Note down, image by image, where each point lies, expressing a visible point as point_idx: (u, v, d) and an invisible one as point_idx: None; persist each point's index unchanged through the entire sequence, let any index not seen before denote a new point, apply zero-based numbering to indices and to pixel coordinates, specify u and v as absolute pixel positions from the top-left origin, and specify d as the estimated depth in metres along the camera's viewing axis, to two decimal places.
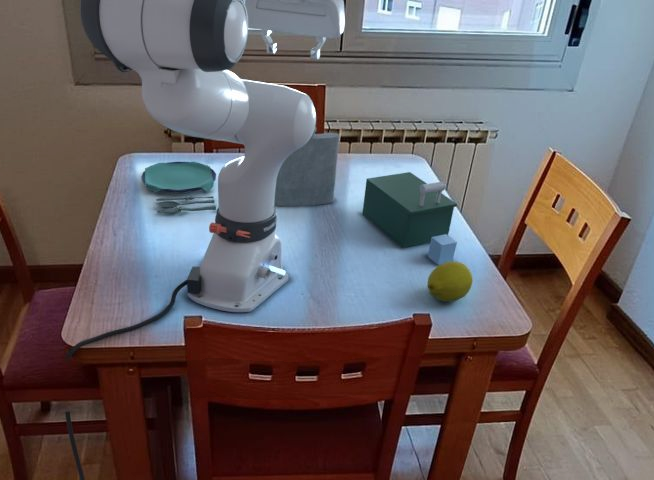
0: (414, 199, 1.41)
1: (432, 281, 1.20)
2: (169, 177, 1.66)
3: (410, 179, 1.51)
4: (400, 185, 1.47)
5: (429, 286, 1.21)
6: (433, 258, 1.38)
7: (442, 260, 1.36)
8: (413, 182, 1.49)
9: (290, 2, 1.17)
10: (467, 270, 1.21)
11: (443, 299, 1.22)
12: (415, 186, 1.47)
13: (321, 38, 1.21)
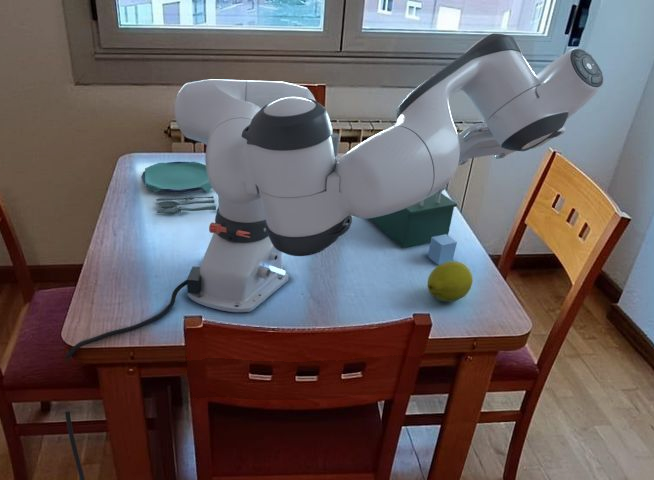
0: None
1: (432, 281, 1.20)
2: (169, 177, 1.66)
3: None
4: None
5: (429, 286, 1.21)
6: (433, 258, 1.38)
7: (442, 260, 1.36)
8: None
9: None
10: (467, 270, 1.21)
11: (443, 299, 1.22)
12: None
13: None
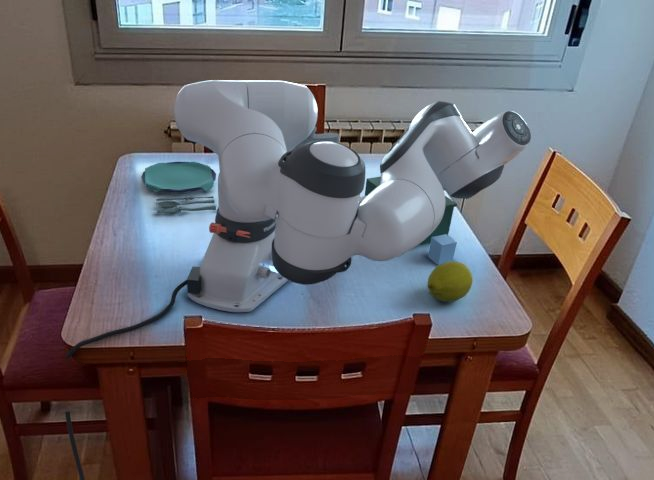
0: None
1: (432, 281, 1.20)
2: (169, 177, 1.66)
3: None
4: None
5: (429, 286, 1.21)
6: (433, 258, 1.38)
7: (442, 260, 1.36)
8: None
9: None
10: (467, 270, 1.21)
11: (443, 299, 1.22)
12: None
13: None
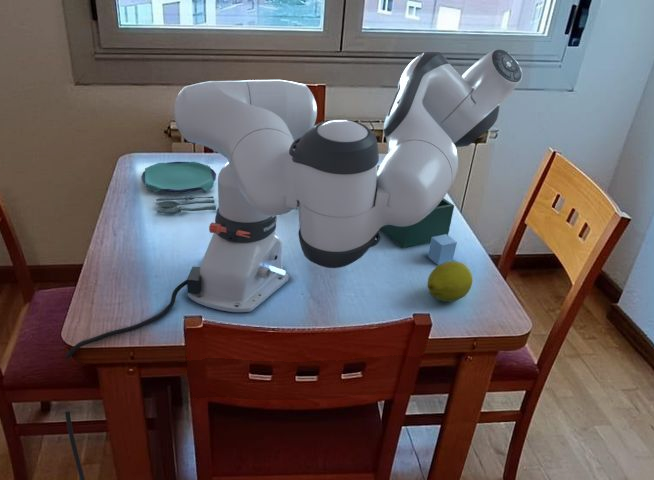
0: None
1: (432, 281, 1.20)
2: (169, 177, 1.66)
3: None
4: None
5: (429, 286, 1.21)
6: (433, 258, 1.38)
7: (442, 260, 1.36)
8: None
9: None
10: (467, 270, 1.21)
11: (443, 299, 1.22)
12: None
13: None
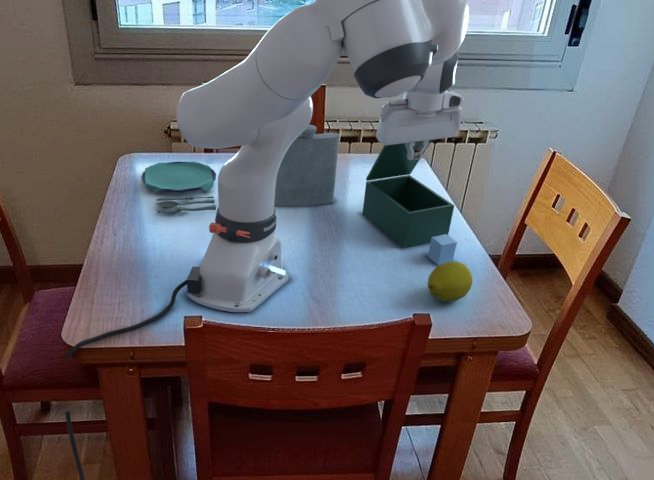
0: None
1: (432, 281, 1.20)
2: (169, 177, 1.66)
3: None
4: None
5: (429, 286, 1.21)
6: (433, 258, 1.38)
7: (442, 260, 1.36)
8: None
9: (431, 116, 1.33)
10: (467, 270, 1.21)
11: (443, 299, 1.22)
12: None
13: (427, 141, 1.39)
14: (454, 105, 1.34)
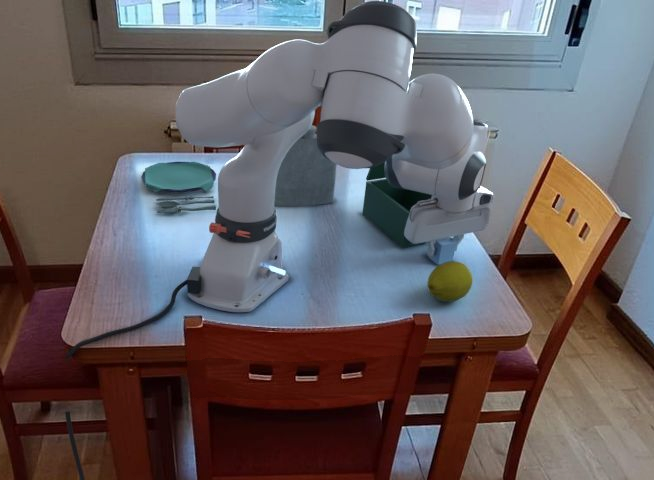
0: None
1: (432, 281, 1.20)
2: (169, 177, 1.66)
3: None
4: None
5: (429, 286, 1.21)
6: (433, 258, 1.38)
7: (442, 260, 1.36)
8: None
9: (461, 214, 1.29)
10: (467, 270, 1.21)
11: (443, 299, 1.22)
12: None
13: (463, 234, 1.36)
14: (484, 203, 1.30)
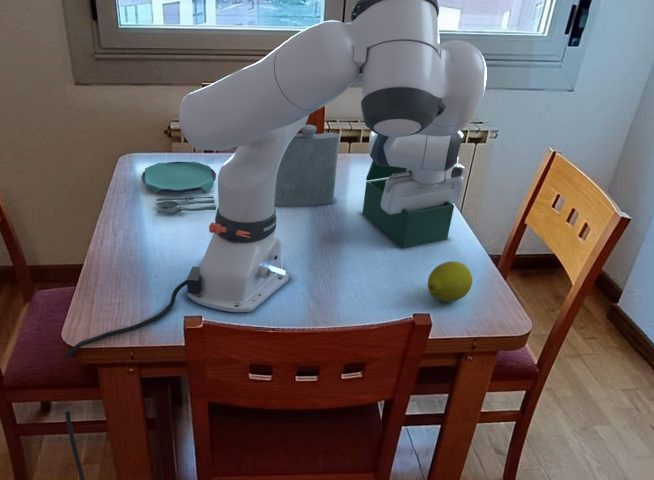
0: None
1: (432, 281, 1.20)
2: (169, 177, 1.66)
3: None
4: None
5: (429, 286, 1.21)
6: None
7: None
8: None
9: (434, 186, 1.37)
10: (467, 270, 1.21)
11: (443, 299, 1.22)
12: None
13: None
14: (456, 176, 1.38)
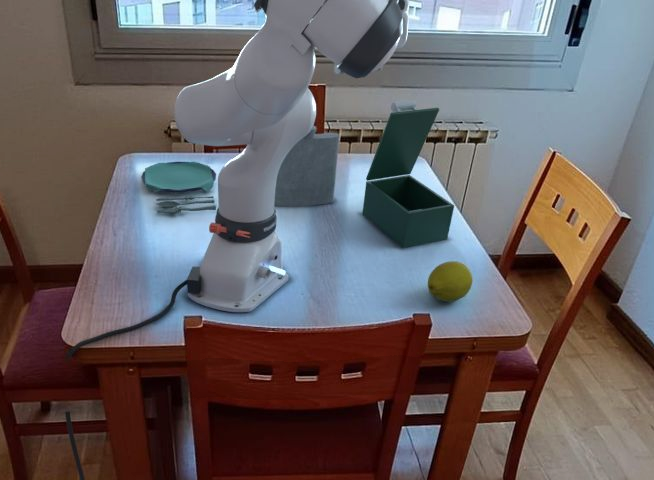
0: None
1: (432, 281, 1.20)
2: (169, 177, 1.66)
3: None
4: None
5: (429, 286, 1.21)
6: None
7: None
8: None
9: None
10: (467, 270, 1.21)
11: (443, 299, 1.22)
12: None
13: None
14: None
